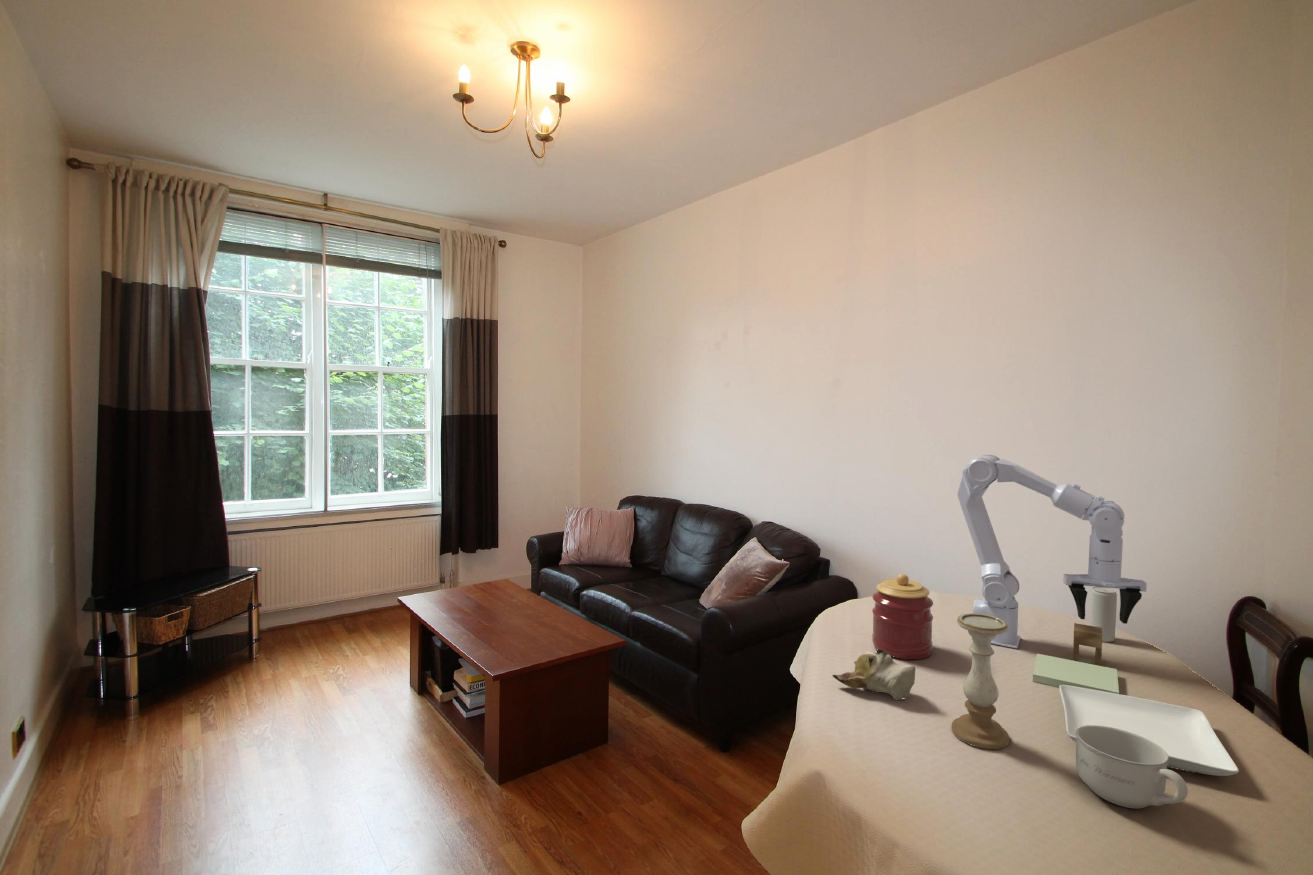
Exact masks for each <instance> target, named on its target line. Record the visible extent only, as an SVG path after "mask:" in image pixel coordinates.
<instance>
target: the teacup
mask: <svg viewBox="0 0 1313 875" xmlns="http://www.w3.org/2000/svg"><path fill="white" fill-rule="evenodd" d="M1076 737H1077V741H1076V742H1075V746H1076V747H1075V765H1076V770H1077V773H1078V775H1079V777H1080V779H1081V781H1083V782H1084V784H1086V786H1088V787H1089V789H1091V791H1092V792H1094V794H1096V795H1097V796H1098V797H1100V798H1101V799H1103V800H1105V801H1107V802H1109V803H1112V804H1114V805H1117V806H1121V807H1123V808H1128V809H1143V808H1147V807H1149V806H1154V807H1155V806H1156V807H1160V806H1163V805H1164V804H1167V805H1168V804H1170V805H1171V804H1172V805H1173V804H1178V803H1182V802H1183V801H1185V800H1186V799H1187V797H1188V793H1189V792H1188V791H1189V790H1188V786H1187V783H1186V781H1185V780H1184V778H1183V777H1182V776H1181V775H1180V774H1179V773H1177V772H1175V771H1173V770H1172V769H1168V767H1167V763H1168V761H1169V756H1168V754H1167V753H1166V752H1165V751H1164V750H1163V749H1162V748H1161V747H1160V746H1158V745H1157V744H1155V743H1154V742H1152V741H1150V740H1148V739H1146V738H1144V737H1142V736H1139V735H1136V734H1133V733H1131V732H1128V731H1124V730H1121V729H1117V728H1112V727H1107V726H1096V725H1086V726H1083V727H1080V728H1078V729H1077V730H1076ZM1167 778H1168V779H1169V780H1170V781H1171V782H1172V783H1173V785H1174V787H1175V790H1176V791H1175V793H1174V794H1173V795H1164V794H1165V791H1166V785H1167V784H1166V783H1167Z"/></svg>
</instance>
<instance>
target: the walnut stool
mask: <svg viewBox="0 0 1313 875" xmlns="http://www.w3.org/2000/svg"><path fill="white" fill-rule="evenodd" d="M1080 646H1083V647H1090V648H1095V652H1094V654H1095V658H1094V659H1095V664H1094V665H1098V666H1102V656H1103V655H1102V654H1103V642H1102V628H1101V627H1095V626H1091V625H1087V624H1082V623H1076V622H1075V623H1074V624H1073V647H1072V648H1073V652H1072V661H1078V662H1080V661H1079V658H1080V657H1079V656H1080Z"/></svg>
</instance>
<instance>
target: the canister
mask: <svg viewBox="0 0 1313 875" xmlns="http://www.w3.org/2000/svg"><path fill="white" fill-rule="evenodd" d="M876 590H877V591H876V592H874V593H873V595H872V599H873V601H874V607H873V608H872V610H871V611H872V635H871V637H872V638H871V641H872V646H873V645H874V646H873V648H874V647H875V648H876V649H880V650H883V651H885V652H887V653H888V654H889V655H890V656H894V657H897V658H896V659H899V658H901V659H900V660H907V659H917V660H922V659H926V658H927V657H929V656H931V654H932V650H933V644H934V643H933V640H932V639H933V619H934V616H933V614H932V612H931V610H932V609H931V608H932V607H933V605H934V601H933V599H932V598H930V597H929V595H930V590H929V589H928V588H927V587H925V586H924V585H923V584H922V583H919V582H917V581H915V580H911V579H909V576H908V575H907V574H905V573H900V574H897V577H896V578H889V579H885V580H883V581H882V582H880V583H878V584H877V585H876ZM875 648H874V649H875ZM876 649H875V650H876ZM894 657H893V658H894Z"/></svg>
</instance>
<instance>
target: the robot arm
mask: <svg viewBox="0 0 1313 875" xmlns="http://www.w3.org/2000/svg"><path fill="white" fill-rule="evenodd" d="M961 472H962V474H961V480H960V483H959V486H958V490H957V498H958V501H959V502H958V503H959V504H960V507H961V511H962V513H963V517H964V520H965V522H966V524H967V525H966V526H967V528H968V531H969V534H970V537H971V540H972V544H973V545H974V549H975V552H976V555H977V558H978V561H979V563H980V566H981V569H980V570H981V571H980V573H981V574H980V575H981V580H982V589H981V591H982V592H981V593H982V597H983V599H974V601H973V604H972V605H973V606H972V613H977V614H985V615H990V616H994V617H997V618H999V619H1001V620H1003V621H1005V622H1006V624H1007V626H1008V630H1007V632H1005V633H1002V634H996V637H995V638H994V639H993V640H992V641H991V645H998V646H1002V647H1008V648H1013V649H1018V648H1019V645H1020V641H1021V636H1020V635H1018V624H1019V602H1018V601H1017V599H1016V597H1015V596H1016V595H1017V593H1019V591H1020V581H1019V580H1018V579H1017V577H1016V576H1015V575H1014V574H1013V573H1012V571H1011V569H1010V566H1009V565H1008V563H1007V562H1006V561H1005V560H1004V557H1003V554H1002V551H1001V548H1000V545H999V542H998V540H997V536H996V534H995V531H994V528H993V525H992V522H991V519H990V516H989V513H988V511H987V507H986V505H985V502H984V499H983V496H984V494H985V493H986V491H987V490H988V489H989V488H990V485H991V484H992V483H994V482H995V481H997V483H1011V482H1013V483H1016V484H1018V485H1021V486H1022V487H1024V488H1027V489H1029V490H1032V491H1034V492H1036V493H1039V494H1041V495H1044V496H1045V497H1047V498H1050V500H1051V502H1052V506H1054V507H1055V508H1058V509H1059V510H1062V511H1064V512H1065V513H1067V514H1070V515H1072V516H1075V517H1077V518H1078V519H1080V520H1082V521H1088V522H1089V524H1090V526H1091V534H1090V535H1089V548H1088V566H1087V567H1088V570H1087V574H1085V573H1083V574H1080V573H1078V574H1077V573H1076V574H1073V573H1072V574H1070V573H1069V574H1068V573H1063V584H1065V585H1066V586H1068V588H1069V590H1070V592H1071V595H1072V597H1073V599H1074V602H1075V606H1076V611H1077V617H1078V618H1079V619H1081V620H1085V619H1086V601H1087V596H1088V591H1087V590H1086V587H1106V588H1111V589H1119V601H1120V605H1119V621H1120V622H1121V623H1122V624H1123V625H1124V624H1128V622H1129V618H1130V615H1131V614H1132V611H1133V610H1134V608H1135V606H1136V605H1137V603H1138V602H1139V601H1140V600H1141V599H1142V597H1143V594H1142V592H1147V582H1146V581H1145V580H1142V579H1134V578H1126V577H1122V561H1123V545H1124V544H1123V541H1124V540H1123V532H1124V531H1123V526H1124V523H1125V511H1124V509H1122V507H1121V506H1120V505H1119V504H1117V503H1115V502H1114V501H1113V500H1105V497H1103V496H1101V495H1099V497H1098V496H1096V495H1093V494H1091V493H1089V492H1087V491H1085V490H1083V489H1081V488H1082V487H1081V485H1078V484H1077V483H1074V484H1073V485H1072V484H1070V483H1064V484H1061V485H1059V484H1056V483H1054V482H1052V481H1050V480H1048V479H1046V478H1045V477H1043V476H1040V475H1038V474H1036V473H1034V472H1033V471H1030V470H1028V469H1027V468H1025V467H1023V466H1020V465H1018V464H1016V463H1014V462H1012V461H1009V460H1007V459H1004V458H1001V459H1000V458H999V457H998V456H996V455H993V454H984V455H982V456H980V457H977V458H976V457H975V458H973V459H972V460H970V461H969V462H968V464H967V465H965V467H964V468H963V470H962V471H961ZM971 640H972V641H973V639H972V638H971Z"/></svg>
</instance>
